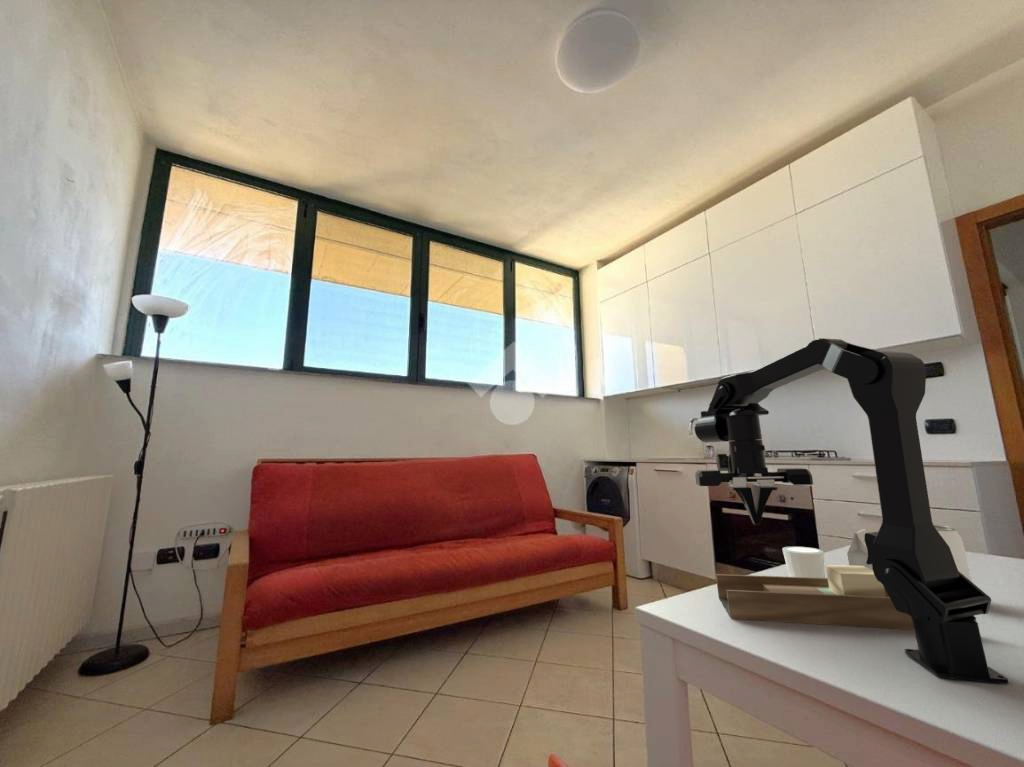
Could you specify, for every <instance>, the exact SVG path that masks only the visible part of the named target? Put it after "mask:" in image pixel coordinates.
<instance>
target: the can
mask: <svg viewBox="0 0 1024 767" xmlns="http://www.w3.org/2000/svg"><path fill="white" fill-rule="evenodd" d="M933 525H934V524H933ZM934 527H935V529H936V530H937V531H938V532H939V534H940V535H941V536H942V538H943V539H944V540H945V542H946V543H947V544H948V546H949V547H950V550H951V553H952V555H953V558H954V561H955V564H956V566H957V569H958V571H959V572H960V573H961V574H963V575H964V576H965V577H966V578H967V579H969V580H970V581H971V582H972V583H973V579H972V576H971V572H970V571H971V570H970V567H969V562H968V557H967V553H966V549H965V544H964V542H963V538H962V537H961V535H960V534H959V533H958V532H957V528H955V527H953V526H946V525H934Z"/></svg>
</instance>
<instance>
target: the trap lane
mask: <svg viewBox="0 0 1024 767" xmlns="http://www.w3.org/2000/svg"><path fill="white" fill-rule="evenodd" d="M715 579H716V586H717V595H718V600H719V601H720V602H722V603H721V604H723V605H722V607H723V608H724V610H725V609H726V610H725V611H726V613H727V615H728V614H729V615H728V616H729V618H730V619H732V618H739V619H738V620H751V621H753V620H754V621H765V622H767V621H769V622H780V623H781V622H782V623H785V622H786V623H798V624H799V623H801V624H815V625H830V626H847V627H848V626H849V627H861V628H862V627H864V628H865V627H866V628H881V629H897V630H910V631H912V630H914V626H913V621H912V617H911V616H910V615H908V614H905V613H902V612H899V611H897V610H896V608H895V607H894V605H893V603H892V601H891V599H890V597H889V595H888V593H887V592H886V590H885V588H884V590H885V595H886V597H879V596H856V595H837V594H835V593H834V592H832V591H831V590H829V584H828V578H827V577H825V578H809V577H789V576H780V575H779V576H778V575H777V576H776V575H775V576H773V575H749V574H748V575H746V574H725V573H724V574H719V573H716V574H715Z"/></svg>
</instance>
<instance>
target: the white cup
mask: <svg viewBox="0 0 1024 767" xmlns="http://www.w3.org/2000/svg"><path fill="white" fill-rule="evenodd" d="M781 551H782V554H783V557H784V561H785V565H786V569H787V573H788V577H809V578H826V567H825V554H824V552H825V551H824V550H822V549H819V548H815V547H810V546H807V547H806V546H800V545H799V546H798V545H797V546H795V545H794V546H792V545H791V546H785V547H782V550H781Z"/></svg>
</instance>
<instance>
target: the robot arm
mask: <svg viewBox="0 0 1024 767" xmlns="http://www.w3.org/2000/svg"><path fill="white" fill-rule="evenodd" d="M824 369H827V370H828V371H829V372H831V373H832V374H835V375H837V376H839V377H842V378H845V379H847V382H848V385H849V386H848V387H849V389H850V392H851V394H852V396H853V399H854V400H855V401H856V402H857V404H858V405H859V406H860V408H861V409H862V411H863V412H864V413H865V415H866V416H867V420H868V426H869V432H870V440H871V441H870V442H871V447H872V454H873V461H874V468H875V475H876V482H877V490H878V491H877V492H878V497H879V504H880V513H881V524H880V527H879V529H878V531H874V532H868V533H865V539H864V540H865V543H866V547H867V551H868V558H867V561H866V563H867V564H868V565H870V564H872V570H873V573H874V575H875V577H876V579H877V580H878V581H879V582H881V583H882V584H883V586H884V588H885V590H886V592H887V593H888V595H889V597H890V599H891V601H892V603H893V605H894V607H895V608H896V610H897V611H899V612H902V613H905V614H908V615H910V616H911V617H912V621H913V626H914V635H915V640H916V644H917V649H916V648H915V649H914V648H904V652H905V654H906V655H907V656H908V657H910V658H911V659H913V660H914V661H915V662H916V663H919V664H920V665H921V666H922V667H924V668H925V669H927V670H928V671H929V672H931V673H932V674H933V675H935V677H938V678H941V679H952V680H953V679H954V680H964V681H974V682H975V681H976V682H987V683H988V682H989V683H999V684H1009V683H1010V682H1009V678H1008V677H1006V676H1005V675H1003V674H1002V673H1000V672H998V671H997V670H995V669H993V668H991V667H990V666H988V662H987V658H986V653H985V652H986V651H985V649H984V645H983V640H982V636H981V632H980V628H979V623H978V620H977V618H976V616H979V615H986V614H989V611H990V607H991V604H992V603H991V602H992V599H991V597H990V596H989V595H988V593H985V592H984V591H983V590H982V589H981V588H979V587H978V586H977V585H976V584H975V583H974V582H973V581H972V582H971V581H970V580H969V579H967V578H966V577H965V576H964V575H963V574H961V573H960V572H959V571H958V569H957V566H956V564H955V561H954V558H953V555H952V553H951V550H950V547H949V546H948V544H947V543H946V542H945V540H944V539H943V538H942V536H941V535H940V534H939V532H938V531H937V530H936V529H935V527H934V522H933V520H932V519H933V518H932V513H931V505H930V500H929V499H930V498H929V494H928V487H927V486H928V485H927V480H926V475H925V467H924V461H923V454H922V447H921V442H920V434H919V430H918V423H917V413H918V410H919V408H920V406H921V403H922V401H923V400H924V397H925V394H926V383H927V368H926V365H925V362H924V361H923V360H922V359H921V358H919V357H917V356H916V355H914V354H913V353H909V352H904V351H886V350H878V349H877V350H876V349H874V348H869V347H865V346H861V345H856V344H854V343H853V344H852V343H850V342H847V341H845V340H843V339H838V338H837V339H836V338H823V337H822V338H821V337H820V338H816V339H814V340H811V342H809V343H808V344H807V345H805V346H802V347H801V348H798V349H797V350H794V351H792V352H790V353H788V354H786V355H784V356H781V357H780V358H778V359H776V360H774V361H771V362H769V363H768V364H765V365H763V366H762V367H758V368H757V369H755V370H752V371H751V370H750V371H747V372H741V373H735V374H731V375H728V376H727V375H726V376H725V377H724V376H723V377H722V378H720V379H719V381H718V382H717V386H716V387H715V388H716V389H715V391H714V394H713V396H712V399H711V401H710V403H709V404H708V405H709V406H708V409H707V410H703V411H700V417H699V418H698V419H697V420H696V422H695V426H694V427H693V428H694V432H695V435H696V437H697V439H699V440H700V441H701V442H702V443H705V444H706V443H722V442H728V451H729V453H728V455H727V453H717V454H716V455H715V459H716V468H717V469H697V471H696V472H695V474H694V478H695V484H696V485H697V486H699V487H719V486H720V485H721V484H722V483H728V484H729V485H727V488H728V489H729V490H732V491H735V493H736V494H737V495H738V497H739V498H740V500H741V502H742V503H743V506H744V508H745V510H746V511H747V513H748V516H749V518H750V520H751V522H752V524H753V525H755V526H756V525H757V526H759V525H760V524H761V521H762V519H763V518H762V517H763V514H764V512H765V508H766V505H767V502H768V501H769V498H770V496H771V494H772V492H773V491H778V487H777V486H775V484H776V483H777V482H782V483H786V484H789V483H790V484H792V485H793V486H811V485H812V486H813V485H814V480H813V474H812V472H810V470H809V469H808V468H802V467H801V468H800V467H781V468H779V467H777V468H776V469H777V470H776V471H769V470H768V467H767V464H766V458H765V457H766V456H765V451H766V448H765V445H764V442H763V435H762V429H761V421H760V416H766V415H769V414H770V412H769V410H767V409H766V408H764V407H763V406H761V404H759V403H760V402H761V401H763V400H765V399H767V398H768V397H769V395H770V394H771V392H773V391H774V390H775V389H778V388H780V387H782V386H785V385H788V384H790V383H792V382H795V381H797V380H799V379H802V378H804V377H807V376H810V375H811V374H814V373H817V372H819V371H822V370H824ZM756 474H758V475H756ZM775 482H776V483H775ZM748 483H754V484H751V487H749V486H748Z"/></svg>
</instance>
